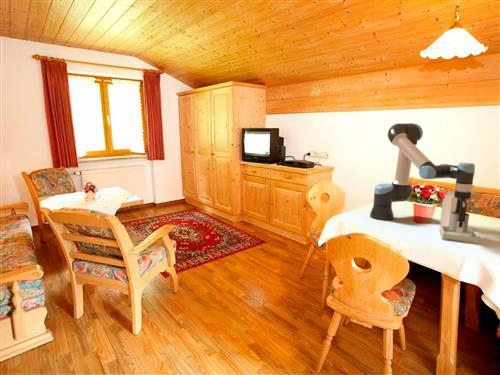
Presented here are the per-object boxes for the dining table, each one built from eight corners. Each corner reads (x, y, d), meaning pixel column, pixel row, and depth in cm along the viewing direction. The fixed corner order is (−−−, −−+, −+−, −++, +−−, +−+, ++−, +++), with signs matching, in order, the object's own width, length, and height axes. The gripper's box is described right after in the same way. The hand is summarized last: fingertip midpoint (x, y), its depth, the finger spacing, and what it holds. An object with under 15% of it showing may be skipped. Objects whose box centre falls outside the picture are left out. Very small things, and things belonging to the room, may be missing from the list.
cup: (469, 233, 162) (472, 216, 160) (453, 232, 164) (455, 215, 162) (462, 228, 170) (464, 211, 168) (446, 227, 172) (448, 211, 170)
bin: (442, 239, 164) (442, 233, 163) (439, 230, 178) (439, 225, 177) (477, 244, 157) (478, 237, 156) (471, 234, 171) (472, 229, 170)
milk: (448, 227, 185) (452, 193, 181) (439, 224, 191) (443, 191, 186) (455, 226, 186) (460, 192, 182) (446, 223, 192) (450, 190, 188)
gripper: (475, 195, 152) (469, 236, 156) (467, 188, 170) (462, 225, 174) (458, 193, 155) (452, 234, 159) (452, 187, 173) (447, 223, 178)
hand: (457, 229), depth 167 cm, fingers closed on cup, 8 cm apart
